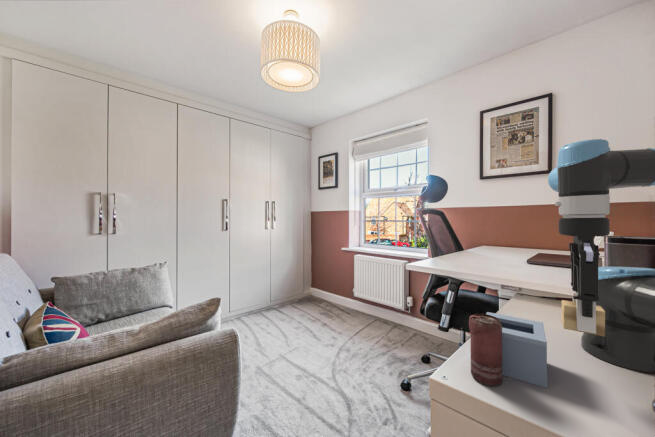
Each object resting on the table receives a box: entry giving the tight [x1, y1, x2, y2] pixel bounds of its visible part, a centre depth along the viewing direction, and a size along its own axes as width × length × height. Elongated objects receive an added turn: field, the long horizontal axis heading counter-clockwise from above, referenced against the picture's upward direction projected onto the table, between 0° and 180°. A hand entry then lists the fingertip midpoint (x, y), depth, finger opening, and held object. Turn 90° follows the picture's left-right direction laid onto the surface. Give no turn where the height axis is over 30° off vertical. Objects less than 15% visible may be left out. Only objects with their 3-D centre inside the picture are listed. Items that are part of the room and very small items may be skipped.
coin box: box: [485, 311, 548, 389], centre depth 63 cm, size 12×12×10 cm
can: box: [468, 313, 503, 387], centre depth 58 cm, size 6×6×14 cm
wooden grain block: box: [560, 299, 605, 337], centre depth 54 cm, size 6×4×5 cm, turn 53°
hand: (583, 326), depth 54 cm, fingers closed on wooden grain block, 4 cm apart
